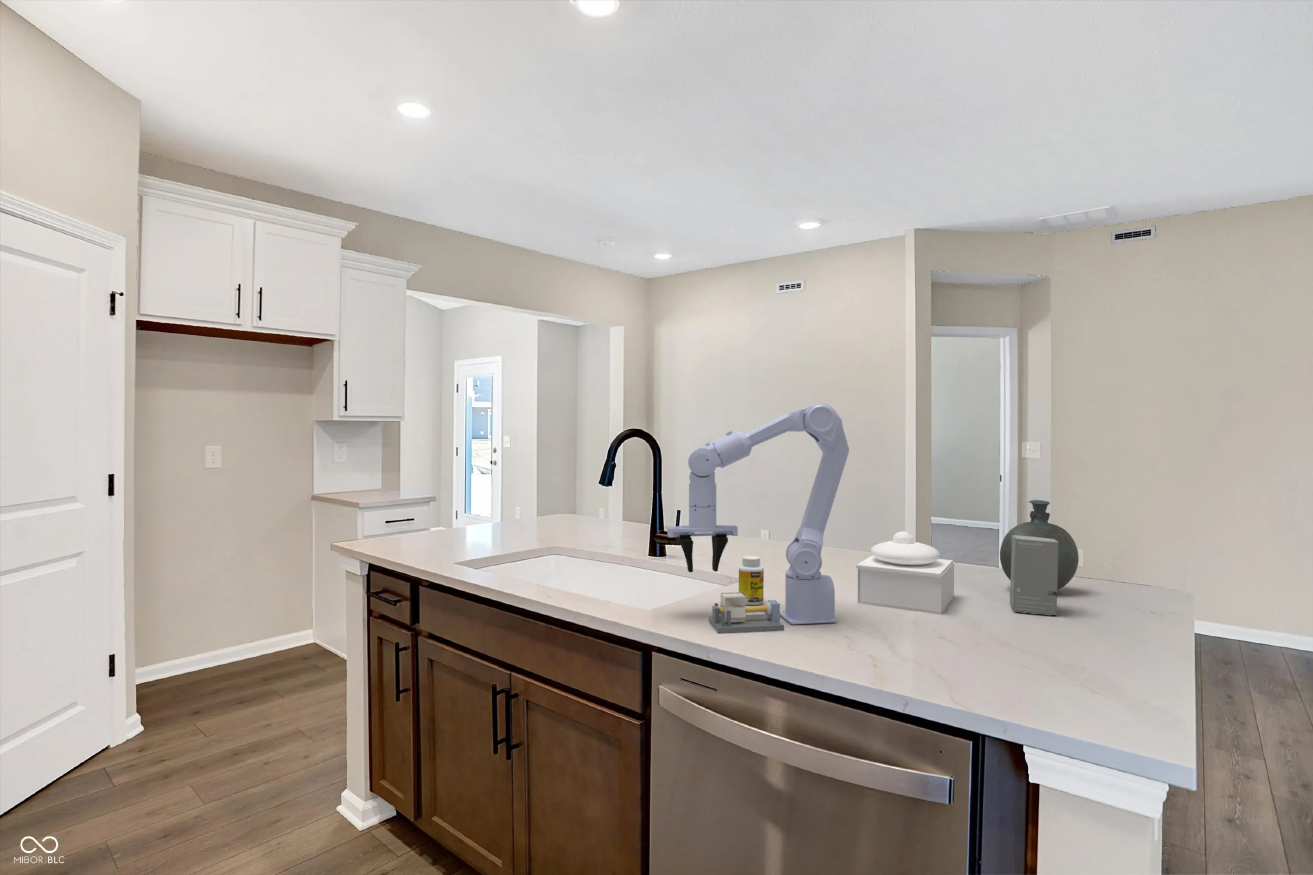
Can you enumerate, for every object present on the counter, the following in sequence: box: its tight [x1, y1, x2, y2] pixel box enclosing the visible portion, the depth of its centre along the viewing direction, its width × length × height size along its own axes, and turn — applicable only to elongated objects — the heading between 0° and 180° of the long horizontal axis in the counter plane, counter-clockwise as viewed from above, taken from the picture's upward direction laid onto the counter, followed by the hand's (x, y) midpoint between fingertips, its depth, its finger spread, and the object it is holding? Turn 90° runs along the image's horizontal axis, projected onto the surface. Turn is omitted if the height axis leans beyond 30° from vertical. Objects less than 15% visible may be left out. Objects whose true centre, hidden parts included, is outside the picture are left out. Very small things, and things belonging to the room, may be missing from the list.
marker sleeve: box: [720, 591, 746, 622], centre depth 129 cm, size 4×4×5 cm
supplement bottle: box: [738, 555, 765, 606], centre depth 147 cm, size 6×6×10 cm
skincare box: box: [1009, 535, 1059, 616], centre depth 140 cm, size 8×7×16 cm
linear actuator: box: [708, 599, 785, 634], centre depth 129 cm, size 13×8×4 cm, turn 98°
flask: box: [999, 499, 1079, 591], centre depth 156 cm, size 12×17×22 cm
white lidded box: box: [855, 530, 955, 615], centre depth 149 cm, size 18×18×16 cm
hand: (702, 570), depth 136 cm, fingers open, 5 cm apart
